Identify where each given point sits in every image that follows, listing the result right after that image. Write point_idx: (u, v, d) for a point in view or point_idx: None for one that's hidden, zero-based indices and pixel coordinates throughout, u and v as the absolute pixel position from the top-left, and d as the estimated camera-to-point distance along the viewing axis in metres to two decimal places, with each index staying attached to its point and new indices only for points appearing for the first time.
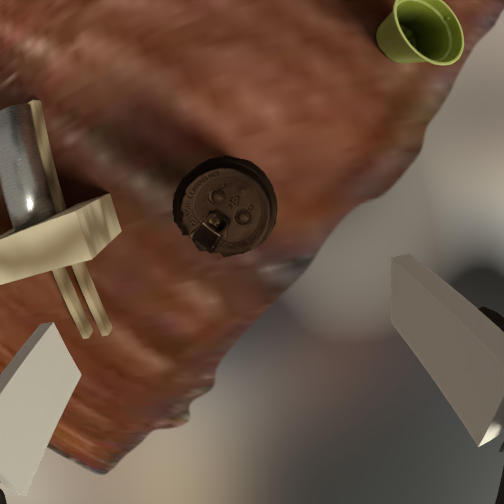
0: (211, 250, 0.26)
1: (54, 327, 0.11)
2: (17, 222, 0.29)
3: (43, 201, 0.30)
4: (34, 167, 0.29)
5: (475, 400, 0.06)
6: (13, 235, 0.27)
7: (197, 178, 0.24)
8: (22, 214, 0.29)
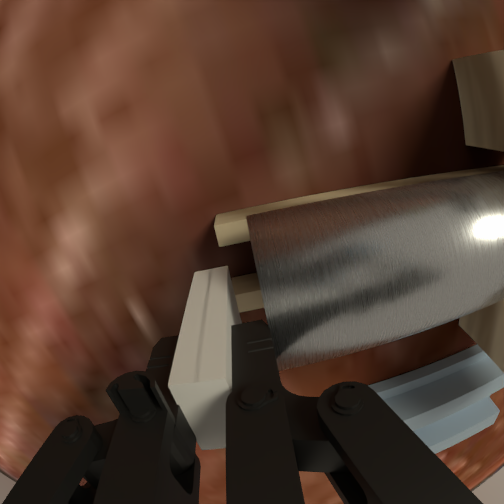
0: None
1: None
2: None
3: None
4: (453, 189, 0.10)
5: None
6: None
7: None
8: None
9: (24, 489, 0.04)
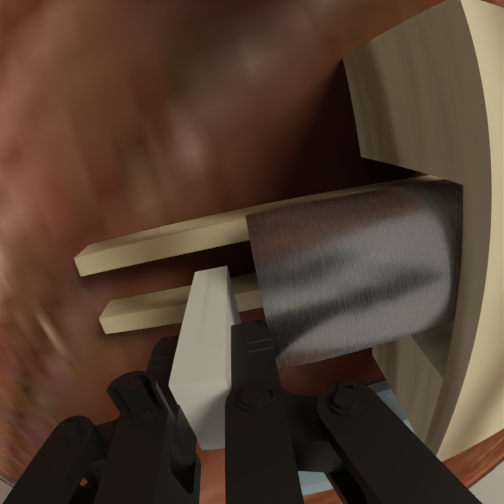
0: None
1: None
2: None
3: None
4: (453, 189, 0.10)
5: None
6: (481, 318, 0.08)
7: None
8: None
9: (24, 489, 0.04)
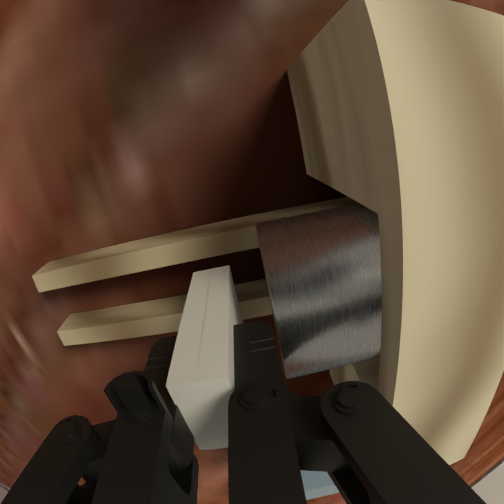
0: None
1: None
2: None
3: None
4: None
5: None
6: (401, 362, 0.08)
7: None
8: None
9: (23, 489, 0.04)
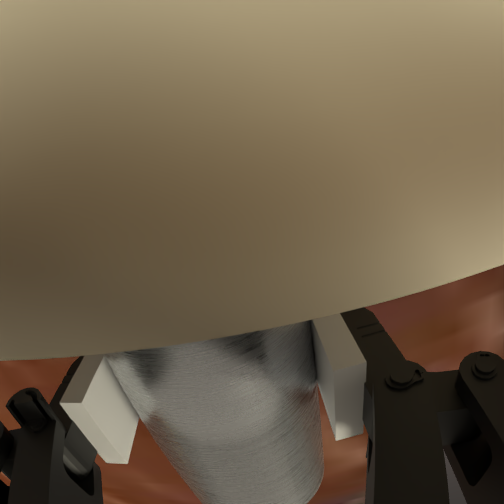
0: None
1: None
2: (209, 455, 0.07)
3: (313, 358, 0.09)
4: None
5: (327, 393, 0.08)
6: None
7: None
8: (250, 435, 0.07)
9: None
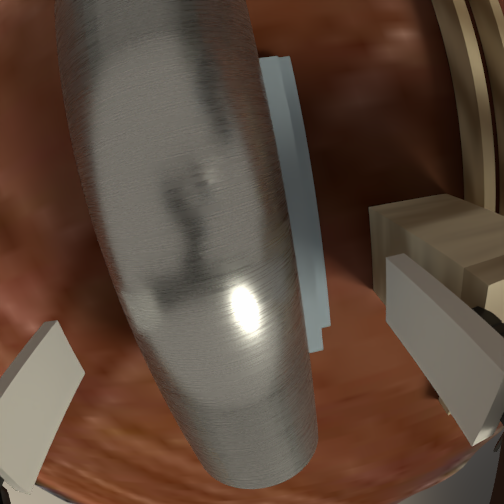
0: None
1: (58, 325, 0.11)
2: (214, 408, 0.09)
3: (304, 325, 0.11)
4: (285, 206, 0.09)
5: (468, 399, 0.06)
6: None
7: None
8: (249, 387, 0.09)
9: None
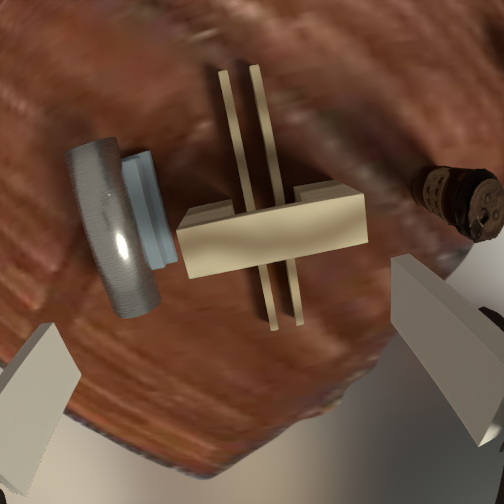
0: (477, 237, 0.28)
1: (54, 327, 0.11)
2: (109, 270, 0.31)
3: (139, 247, 0.33)
4: (128, 211, 0.32)
5: (475, 400, 0.06)
6: (271, 212, 0.29)
7: (481, 183, 0.26)
8: (117, 262, 0.31)
9: None
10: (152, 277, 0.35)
